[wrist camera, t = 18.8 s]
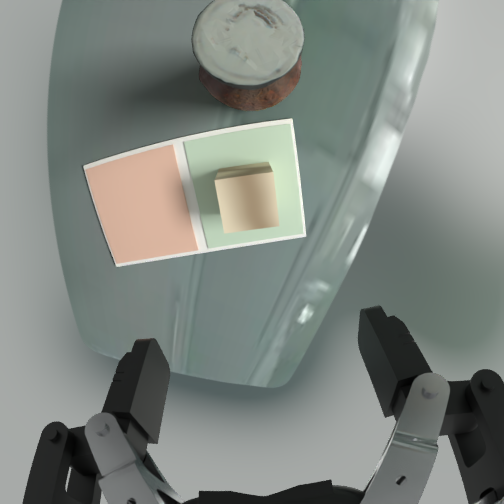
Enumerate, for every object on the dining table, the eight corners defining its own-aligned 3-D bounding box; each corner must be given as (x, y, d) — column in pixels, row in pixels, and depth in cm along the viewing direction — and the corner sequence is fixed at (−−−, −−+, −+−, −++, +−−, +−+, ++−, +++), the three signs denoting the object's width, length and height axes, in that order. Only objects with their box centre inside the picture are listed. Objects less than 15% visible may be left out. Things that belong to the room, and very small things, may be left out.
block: (226, 214, 31) (224, 233, 27) (219, 168, 29) (214, 180, 25) (274, 208, 31) (279, 226, 27) (268, 161, 29) (273, 172, 25)
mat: (84, 165, 29) (82, 166, 28) (291, 118, 28) (292, 118, 27) (117, 265, 35) (115, 267, 34) (305, 235, 33) (306, 237, 33)
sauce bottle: (271, 44, 24) (317, -50, 6) (290, 99, 27) (373, 88, 9) (207, 63, 25) (147, -6, 7) (228, 119, 27) (200, 136, 10)
